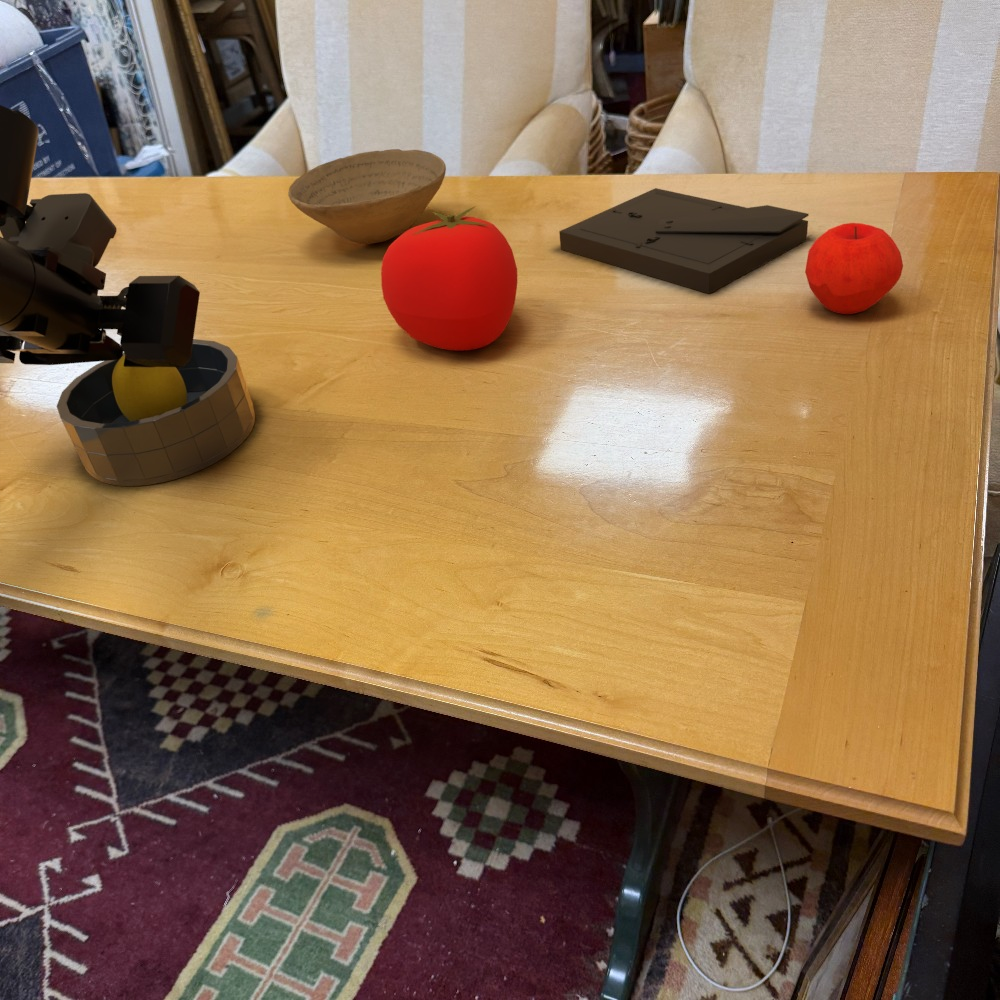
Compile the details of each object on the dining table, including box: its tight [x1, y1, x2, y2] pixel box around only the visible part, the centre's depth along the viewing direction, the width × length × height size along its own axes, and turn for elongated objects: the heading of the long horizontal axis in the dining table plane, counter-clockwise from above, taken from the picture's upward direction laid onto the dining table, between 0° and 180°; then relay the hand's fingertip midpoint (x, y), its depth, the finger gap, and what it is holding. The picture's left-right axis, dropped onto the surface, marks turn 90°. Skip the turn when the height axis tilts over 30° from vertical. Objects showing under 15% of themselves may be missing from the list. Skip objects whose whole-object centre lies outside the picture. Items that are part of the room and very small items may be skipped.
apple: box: [804, 222, 904, 315], centre depth 80 cm, size 8×8×7 cm
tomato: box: [380, 206, 518, 352], centre depth 83 cm, size 12×14×11 cm
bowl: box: [287, 148, 447, 245], centre depth 109 cm, size 18×18×8 cm
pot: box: [56, 338, 256, 487], centre depth 77 cm, size 15×15×6 cm
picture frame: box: [558, 187, 810, 295], centre depth 97 cm, size 16×3×21 cm
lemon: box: [112, 355, 187, 421], centre depth 75 cm, size 6×6×8 cm
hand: (150, 353), depth 75 cm, fingers open, 5 cm apart
